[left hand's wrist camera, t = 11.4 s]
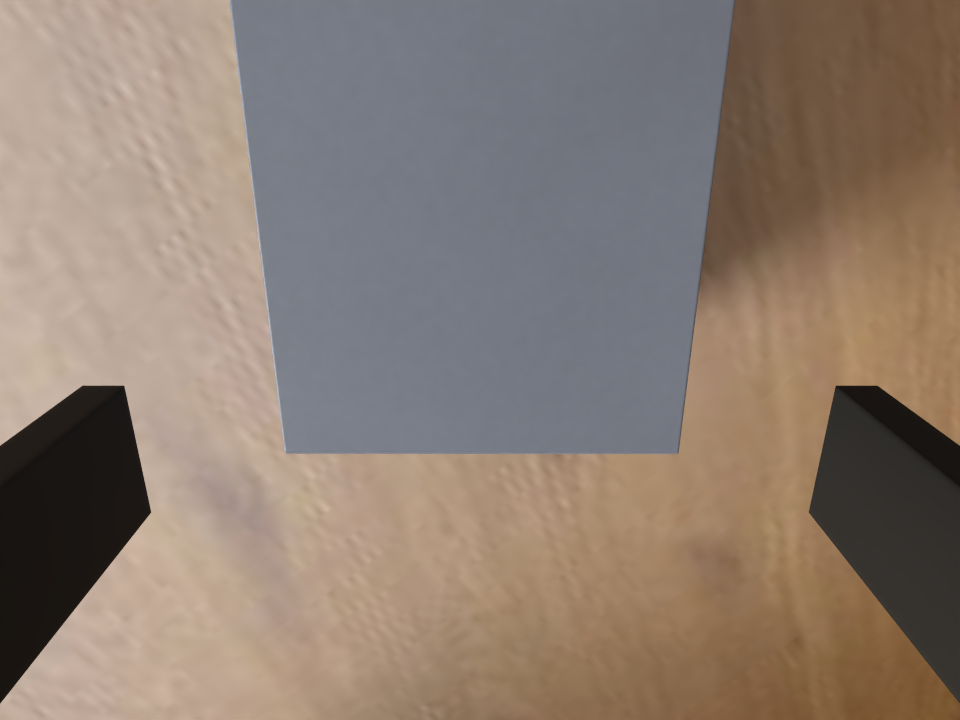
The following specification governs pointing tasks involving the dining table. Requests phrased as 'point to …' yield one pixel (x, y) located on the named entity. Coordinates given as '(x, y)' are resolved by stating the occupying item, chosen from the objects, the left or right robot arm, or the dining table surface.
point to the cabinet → (482, 217)
